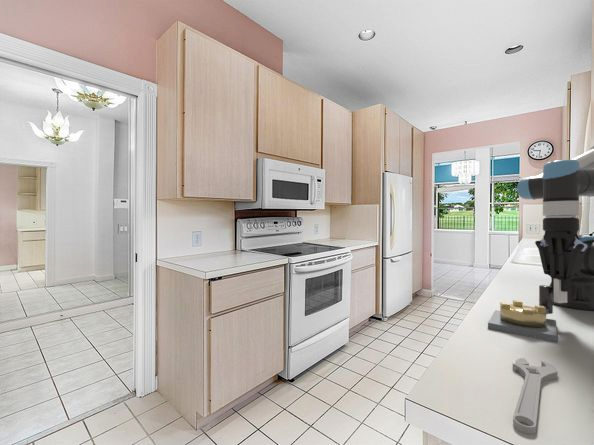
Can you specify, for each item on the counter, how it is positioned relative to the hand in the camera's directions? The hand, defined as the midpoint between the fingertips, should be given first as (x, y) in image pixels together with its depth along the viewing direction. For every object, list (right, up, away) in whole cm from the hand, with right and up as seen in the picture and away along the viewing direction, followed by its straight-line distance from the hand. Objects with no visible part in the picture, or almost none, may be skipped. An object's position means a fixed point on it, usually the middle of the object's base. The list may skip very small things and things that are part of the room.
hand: (560, 302), depth 82 cm
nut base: (-10, -6, +1) cm, 12 cm away
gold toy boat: (-8, -5, 0) cm, 9 cm away
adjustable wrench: (-33, -8, -31) cm, 46 cm away
